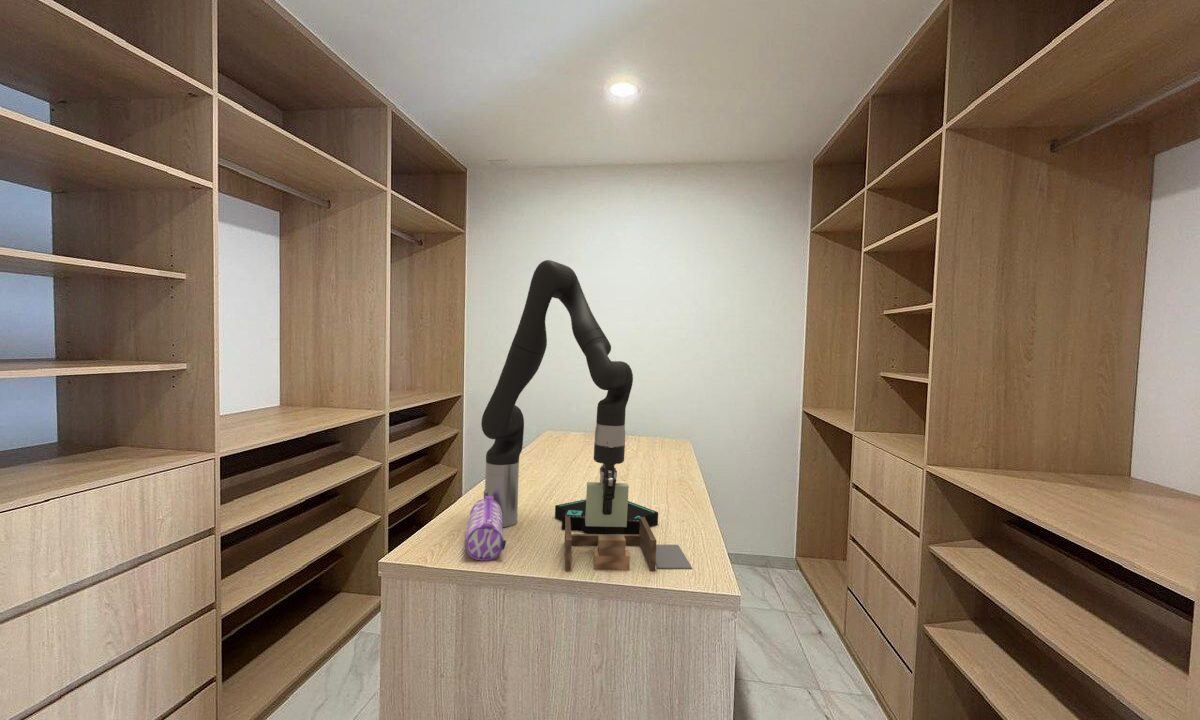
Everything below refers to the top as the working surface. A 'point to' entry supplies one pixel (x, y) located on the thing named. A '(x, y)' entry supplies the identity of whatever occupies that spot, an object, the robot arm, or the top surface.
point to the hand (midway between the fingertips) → (606, 511)
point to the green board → (596, 506)
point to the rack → (642, 539)
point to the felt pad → (671, 557)
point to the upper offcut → (611, 545)
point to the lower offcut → (611, 561)
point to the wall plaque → (578, 524)
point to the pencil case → (485, 530)
